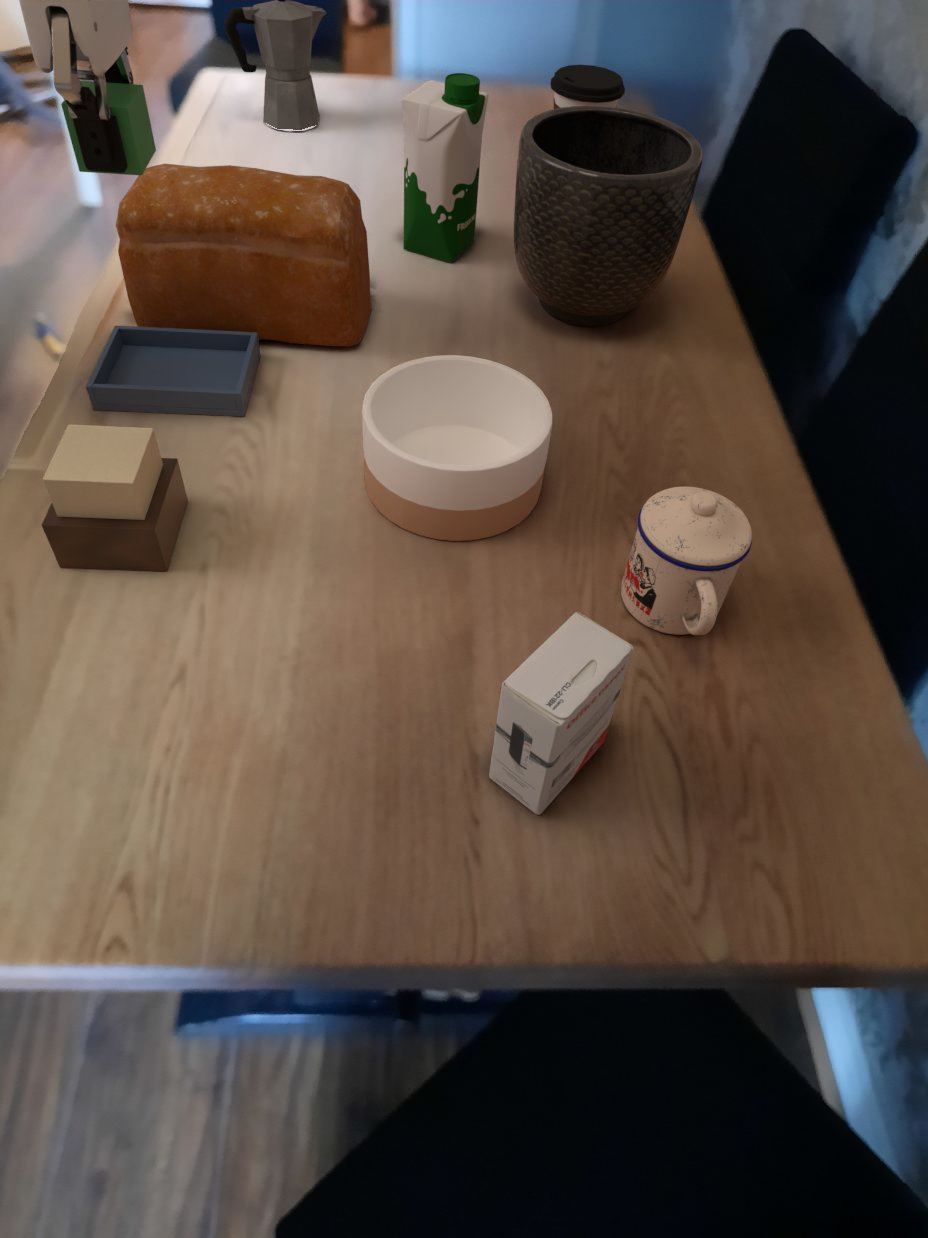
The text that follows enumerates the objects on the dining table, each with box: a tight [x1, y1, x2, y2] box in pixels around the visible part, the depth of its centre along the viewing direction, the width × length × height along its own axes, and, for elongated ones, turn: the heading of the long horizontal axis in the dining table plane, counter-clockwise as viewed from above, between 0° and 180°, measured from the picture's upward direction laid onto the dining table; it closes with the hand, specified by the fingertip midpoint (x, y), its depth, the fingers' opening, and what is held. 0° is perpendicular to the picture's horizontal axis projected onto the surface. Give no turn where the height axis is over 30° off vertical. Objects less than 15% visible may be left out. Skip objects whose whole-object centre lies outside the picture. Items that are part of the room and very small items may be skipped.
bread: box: [115, 163, 372, 347], centre depth 94 cm, size 14×26×16 cm, turn 87°
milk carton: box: [400, 72, 489, 264], centre depth 106 cm, size 9×9×20 cm
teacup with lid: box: [620, 486, 753, 636], centre depth 69 cm, size 12×9×12 cm
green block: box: [60, 80, 157, 176], centre depth 69 cm, size 5×5×5 cm
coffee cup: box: [550, 64, 626, 109], centre depth 128 cm, size 11×11×12 cm
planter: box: [513, 106, 703, 327], centre depth 98 cm, size 20×20×19 cm
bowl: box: [361, 354, 553, 542], centre depth 80 cm, size 17×17×8 cm
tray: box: [85, 325, 261, 418], centre depth 89 cm, size 15×11×3 cm
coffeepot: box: [223, 0, 327, 130], centre depth 130 cm, size 15×9×18 cm, turn 114°
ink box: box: [488, 611, 634, 816], centre depth 59 cm, size 8×5×12 cm, turn 140°
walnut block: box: [41, 457, 189, 572], centre depth 74 cm, size 9×9×5 cm
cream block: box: [42, 423, 163, 520], centre depth 70 cm, size 7×7×4 cm
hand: (116, 152), depth 70 cm, fingers closed on green block, 5 cm apart
